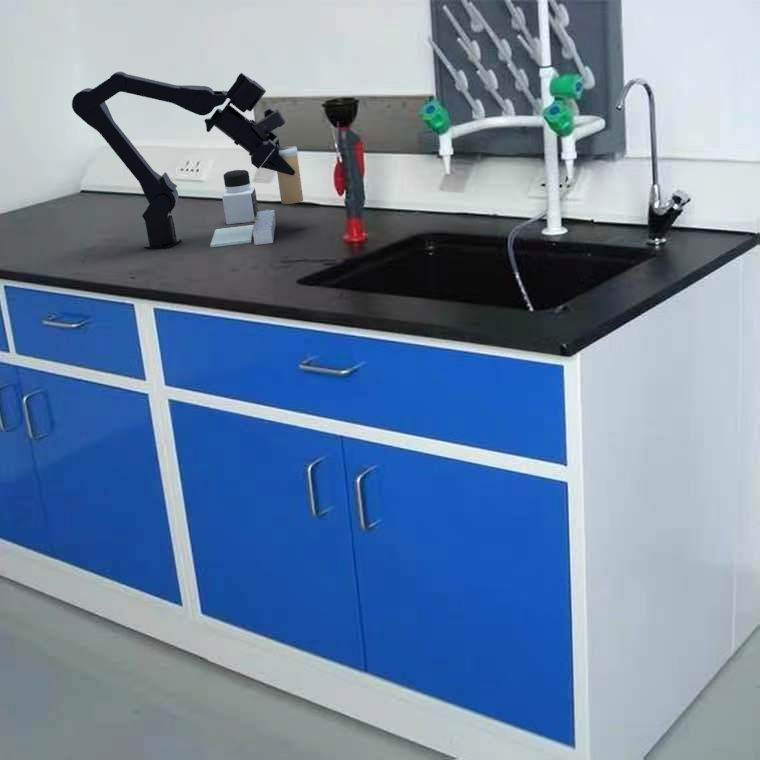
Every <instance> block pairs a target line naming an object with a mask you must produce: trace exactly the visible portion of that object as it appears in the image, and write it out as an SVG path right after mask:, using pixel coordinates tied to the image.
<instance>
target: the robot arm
mask: <svg viewBox="0 0 760 760" xmlns="http://www.w3.org/2000/svg"><path fill="white" fill-rule="evenodd" d="M120 92H122V93H126V94H130V95H135V96H139V97H144V98H149V99H153V100H158V101H162V102H166V103H171V104H173V105H176V106H178V107H179V108H181V109H184V110H186V111H188V112H190V113H193V114H195V115H199V116H206V115H209V114H210V113H212V112H213V110H214V109H215V108H216V107H219V106H222V105H224V103H225V102H226V101H227V100H228V99H229V101H228V102H227V103H226V105H225V106H224V107H223V109H220V108H217V109H216V110H215V111H214V112H213V114H212V115H211V117H210V118H205V119H204V124H205V126H206V127H205V128H206V132H207V133H210V132H211V130H213V128H214V127H216V129H218V131H221V132H222V133H223V134H224V135H226V136H227V137H228V138H230V139H231V140H232V141H233V144H235V145H236V146H238V145H239V147H242V149H244V150H245V151H246V152H247V153H248V155H249V156H250V162H251V165H253V166H254V167H256V169H260V168H261V169H267V170H270V171H273V172H276V173H277V172H281V173H285V174H288V175H292V176H293V175H294V174H295V170H294V169H293V168H292V167H291V166H290V165H289V164H288V163H287V162H286V161H285V159H284V158H283V157H282V156H281V155H280V154H279V148H280V147H281V145H280V144H281V143H280V138H279V137H278V136H279V135H278V134H277V133H276V132H275V131H274V130H276V129H278V128H280V127H282V126H284V125H285V124H286V120H285V118H284V116H283V115H282V112H280V110H279V109H275V110H274V109H272V108H268V109H266V110H265V111H264V113H263V114H264V117H262V118H261V119H260V120H259V121H255V120H254V119H249V118H247V117H246V116H244V114H242V113H245V112H247V111H248V112H250V113H251V112H252V111H253V109H254V108H255V107H256V105H257V104H258V103H259V101H261V100H262V98H263V96H265V93H266V92H267V91H266V89H265V88H264V87H263V86H261V84H260V83H258V81H256V80H254V79H252V78H250V77H249V76H247V75H245V74H244V73H242V72H240V73H239V75H238V76H237V78H236V80H235V81H234V83H233V84H232V85H231V86H230V88H229V89H228V90H214V89H213V88H211V87H209V86H206V85H185V84H184V85H180V84H179V85H177V84H172V83H168V82H164V81H159V80H154V79H149V78H146V77H142V76H136V75H132V74H127V73H126V72H124V71H116V72H114V73H112V75H110V77H109V78H108V79H106V80H105V81H103V82H102V83H100V84H98V85H97V86H96V87H94V88H90V87H88V88H83V89H81V90H80V91H79V92H77V93H76V94H75V95H74V96H73V98H72V100H71V101H72V102H71V107H72V110H73V112H74V113H75V114H76V115H77V117H79V118H80V119H81V120H82V121H83V122H84V123H86V124H87V125H89V127H91V128H93V129H94V130H95V131H97V132H98V133H99V135H100V136H101V137H102V138H103V139H104V141H105V142H106V143H107V144H108V145H109V147H110V148H111V149H112V150H113V152H114V153H115V154H116V156H117V157H118V158H119V159H120V160H121V162H122V163H123V164H124V165H125V167H126V168H127V169H128V170H129V172H130V173H131V174H132V175H133V177H134V178H135V179H136V180H137V182H138V183H139V185H140V188H141V189H142V192H143V194H144V196H145V198H146V200H147V202H148V203H149V204H148V206H147V207H146V208H145V210H144V212H143V214H142V216H141V217H142V218H143V220H144V222H145V223H144V224H145V228H146V235H147V241H148V243H147V244H146V245H144V246H143V248H144V249H168V248H169V249H170V247H172V246H175V245H177V244H180V243H181V242H183V240H182V239H181V238H177V235H176V234H177V233H176V229H175V223H174V222H175V221H174V219H173V215H172V214H171V213H172V211H173V210H174V209H175V207H176V205H177V203H178V201H179V192H178V190H177V188H178V185H177V184H175V183H174V182H173V181H172V180H171V178H170V176H169V174H168V173H167V172H163V174H162V175H160V174H159V173H158V172H156V171H155V169H153V168H152V167H151V166H150V164H149V163H148V161H147V160H146V159H145V157H144V156H143V155H142V154H141V152H139V151H138V149H137V148H136V147H135V145H134V144H133V143H132V142H131V140H130V138H128V136H127V135H126V134H125V133H124V132H123V130H122V129H121V128H120V127H119V125H118V124H117V123H116V121H115V120H114V119H113V116H112V114H111V111H110V109H109V106H108V105H107V104H106V101H108V100H109V99H111V98H112V97H114V96H116V95H117V94H118V93H120ZM233 106H234V107H235V108H236V109H235V108H234V107H233ZM237 109H238V110H239V111H240V112H239V111H238V110H237ZM241 112H242V113H241ZM276 139H277V140H276ZM274 140H276V141H274Z"/></svg>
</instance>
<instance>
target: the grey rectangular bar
mask: <svg viewBox="0 0 760 760" xmlns="http://www.w3.org/2000/svg"><path fill="white" fill-rule="evenodd" d="M276 223H277V222H276V214H275V209H267V208H265V209H264V210H261V211H259V210H258V212H257V215H256V220H255V222H254V224H253V225H254V229H253V236H252V237H253V241H254V246H257V245H259V246H260V245H265V244H273V243H274V237H275V232H276V231H275V230H276V225H277V224H276Z"/></svg>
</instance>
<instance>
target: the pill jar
mask: <svg viewBox="0 0 760 760" xmlns="http://www.w3.org/2000/svg"><path fill="white" fill-rule="evenodd" d="M298 153H299V152H298V146H294V145H292V146H280V148H279V154H280V155H281V156H282V157H283V158H284V159H285V161H286V162H287V163H288V164H289V165H290V166H291V167H292V168H293V169H294V170H295V174H294V175H293V176H292V175H288V174H285V173H281V172H277V171H276V173H277V181H278V182H277V183H278V190H279V195H280V201H281V202H280V203H281V204H283V205H291V204H296V203H297V204H298V203H301V202H303V201H304V195H303V188H302V187H303V186H302V181H301V180H302V179H301V174H300V165H299V157H298V155H299V154H298Z"/></svg>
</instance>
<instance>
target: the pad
mask: <svg viewBox="0 0 760 760" xmlns="http://www.w3.org/2000/svg"><path fill="white" fill-rule="evenodd" d="M253 229H254V224H250V225H248V224H247V225H239V226H232V227H223V228H217V229H215V230H214V233H213V236H212V238H211V242H210V245H209V246H210V248H217V247H218V248H219V247H224V246H225V247H227V246H233V245H241V244H251V243H252V239H253V237H254V236H253Z"/></svg>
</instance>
